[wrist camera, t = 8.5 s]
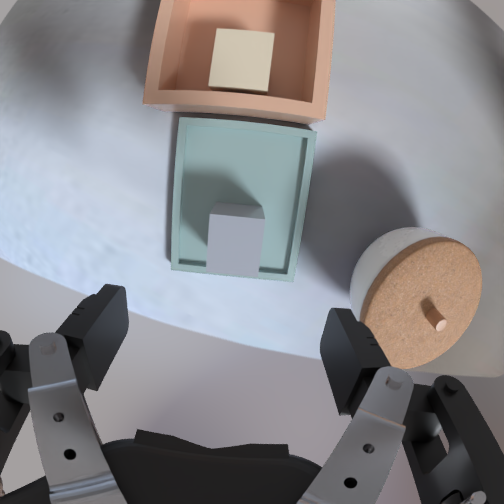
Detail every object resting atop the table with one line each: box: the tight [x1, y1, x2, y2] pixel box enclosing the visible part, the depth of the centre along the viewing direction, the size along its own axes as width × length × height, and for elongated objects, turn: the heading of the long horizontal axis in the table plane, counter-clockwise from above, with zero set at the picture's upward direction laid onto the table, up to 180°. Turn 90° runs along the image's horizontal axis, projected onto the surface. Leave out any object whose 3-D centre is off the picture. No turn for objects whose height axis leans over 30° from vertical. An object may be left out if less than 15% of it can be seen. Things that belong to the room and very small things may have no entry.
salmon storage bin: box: [143, 0, 335, 125], centre depth 16 cm, size 11×11×5 cm
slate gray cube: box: [206, 202, 265, 277], centre depth 21 cm, size 4×4×4 cm
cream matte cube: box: [208, 28, 275, 96], centre depth 17 cm, size 4×4×4 cm
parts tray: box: [171, 117, 317, 282], centre depth 22 cm, size 10×12×1 cm
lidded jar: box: [350, 227, 482, 369], centre depth 21 cm, size 11×11×9 cm
